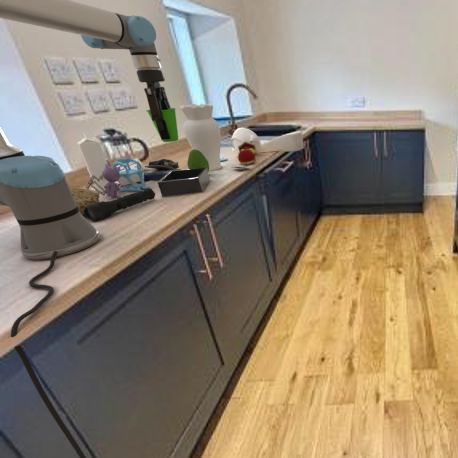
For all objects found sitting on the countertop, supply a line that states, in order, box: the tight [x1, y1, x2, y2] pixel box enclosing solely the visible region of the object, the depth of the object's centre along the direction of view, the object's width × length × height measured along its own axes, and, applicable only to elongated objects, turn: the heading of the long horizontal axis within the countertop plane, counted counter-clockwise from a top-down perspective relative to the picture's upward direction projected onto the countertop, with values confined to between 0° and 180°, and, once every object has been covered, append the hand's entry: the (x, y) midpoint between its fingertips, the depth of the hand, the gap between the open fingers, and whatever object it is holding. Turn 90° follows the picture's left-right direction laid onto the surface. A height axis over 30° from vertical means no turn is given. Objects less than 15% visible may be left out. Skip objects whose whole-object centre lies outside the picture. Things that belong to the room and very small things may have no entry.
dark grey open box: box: [157, 167, 211, 198], centre depth 139 cm, size 18×14×6 cm
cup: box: [146, 107, 179, 143], centre depth 127 cm, size 9×9×11 cm
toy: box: [220, 157, 228, 162], centre depth 184 cm, size 14×1×10 cm
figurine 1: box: [102, 163, 121, 198], centre depth 131 cm, size 5×7×12 cm
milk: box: [76, 133, 116, 193], centre depth 137 cm, size 6×6×22 cm
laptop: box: [230, 165, 251, 170], centre depth 163 cm, size 7×6×2 cm
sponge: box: [70, 187, 101, 215], centre depth 117 cm, size 13×8×20 cm
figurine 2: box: [237, 141, 258, 166], centre depth 176 cm, size 9×10×15 cm
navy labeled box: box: [144, 168, 182, 181], centre depth 156 cm, size 18×3×10 cm
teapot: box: [230, 127, 261, 154], centre depth 188 cm, size 25×16×12 cm
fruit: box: [187, 149, 209, 172], centre depth 153 cm, size 8×8×12 cm
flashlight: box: [83, 187, 156, 222], centre depth 117 cm, size 5×21×5 cm, turn 162°
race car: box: [144, 158, 180, 169], centre depth 159 cm, size 15×7×4 cm, turn 173°
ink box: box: [117, 157, 145, 187], centre depth 148 cm, size 8×5×12 cm
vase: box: [178, 102, 222, 172], centre depth 162 cm, size 15×15×29 cm
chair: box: [112, 158, 147, 192], centre depth 138 cm, size 8×8×12 cm
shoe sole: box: [257, 130, 305, 154], centre depth 202 cm, size 36×13×10 cm, turn 87°
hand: (169, 137), depth 129 cm, fingers closed on cup, 8 cm apart
